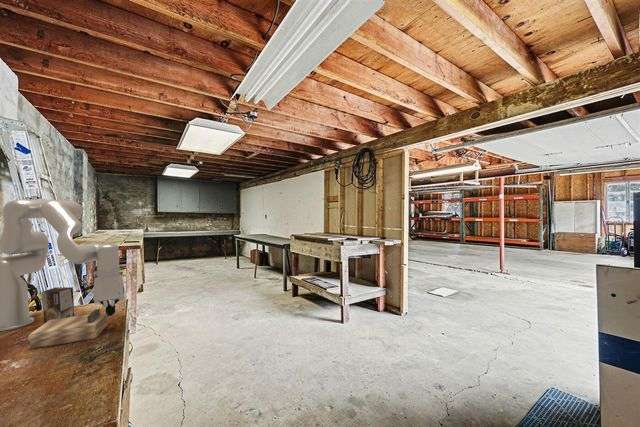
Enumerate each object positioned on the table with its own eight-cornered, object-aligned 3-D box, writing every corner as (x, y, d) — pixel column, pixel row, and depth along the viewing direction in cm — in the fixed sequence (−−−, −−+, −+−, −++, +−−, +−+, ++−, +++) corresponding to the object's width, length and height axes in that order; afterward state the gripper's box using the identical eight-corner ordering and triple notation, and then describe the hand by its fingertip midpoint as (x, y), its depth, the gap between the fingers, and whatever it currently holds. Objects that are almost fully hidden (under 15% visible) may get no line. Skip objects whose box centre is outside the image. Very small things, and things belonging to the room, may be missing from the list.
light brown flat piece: (28, 341, 102) (27, 327, 102) (51, 324, 117) (50, 312, 117) (94, 330, 110) (93, 318, 110) (108, 316, 124) (107, 305, 124)
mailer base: (30, 348, 103) (29, 335, 103) (50, 332, 116) (50, 321, 116) (95, 338, 111) (94, 326, 110) (107, 324, 124) (107, 313, 123)
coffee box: (75, 321, 128) (73, 287, 127) (61, 327, 122) (59, 291, 121) (58, 320, 129) (56, 286, 128) (43, 326, 122) (41, 291, 122)
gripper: (83, 277, 111) (85, 321, 112) (126, 272, 117) (128, 315, 117) (90, 272, 118) (92, 314, 119) (131, 269, 124) (133, 309, 124)
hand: (110, 314), depth 118 cm, fingers closed
